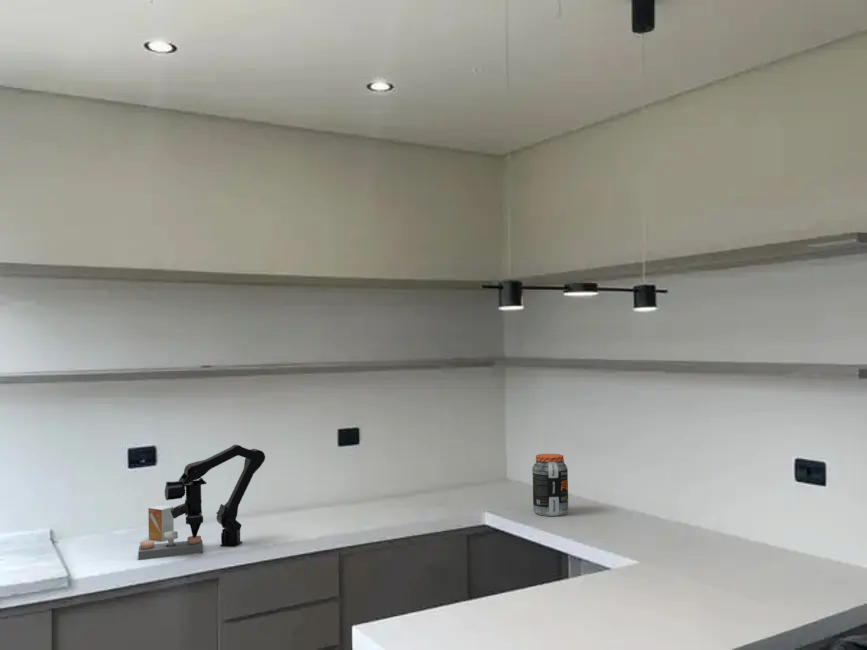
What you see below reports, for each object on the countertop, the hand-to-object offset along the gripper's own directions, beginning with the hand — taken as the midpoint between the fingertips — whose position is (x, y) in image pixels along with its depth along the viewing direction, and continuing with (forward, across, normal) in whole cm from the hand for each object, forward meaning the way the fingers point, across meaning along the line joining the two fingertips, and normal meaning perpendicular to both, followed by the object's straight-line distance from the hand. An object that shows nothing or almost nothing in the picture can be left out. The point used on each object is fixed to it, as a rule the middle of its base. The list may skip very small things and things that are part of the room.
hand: (194, 537), depth 292 cm
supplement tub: (+5, +2, +153) cm, 153 cm away
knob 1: (+5, 0, -17) cm, 18 cm away
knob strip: (+5, 0, -8) cm, 10 cm away
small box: (+5, -25, -12) cm, 29 cm away
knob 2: (+5, 0, 0) cm, 5 cm away
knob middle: (+2, 0, -8) cm, 9 cm away
